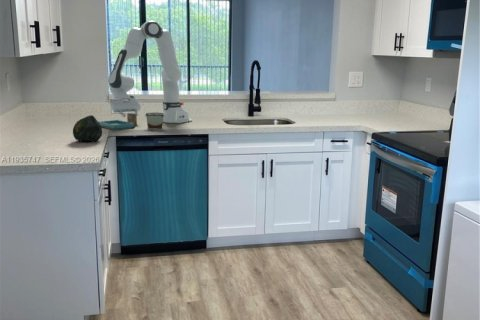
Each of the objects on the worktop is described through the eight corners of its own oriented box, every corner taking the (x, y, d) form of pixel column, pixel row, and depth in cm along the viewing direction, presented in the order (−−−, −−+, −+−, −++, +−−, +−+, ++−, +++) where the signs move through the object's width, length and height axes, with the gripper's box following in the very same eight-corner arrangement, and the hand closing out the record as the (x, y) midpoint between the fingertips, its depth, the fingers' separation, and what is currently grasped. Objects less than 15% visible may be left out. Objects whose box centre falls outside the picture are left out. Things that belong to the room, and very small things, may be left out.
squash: (66, 129, 252) (74, 111, 243) (92, 128, 263) (100, 110, 254) (75, 150, 247) (84, 131, 238) (101, 147, 257) (110, 130, 248)
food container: (166, 127, 302) (166, 112, 300) (164, 129, 296) (164, 113, 294) (148, 127, 303) (148, 112, 301) (145, 128, 298) (145, 113, 295)
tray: (117, 124, 312) (117, 119, 311) (134, 128, 298) (133, 123, 298) (98, 126, 302) (98, 121, 302) (114, 130, 289) (114, 125, 288)
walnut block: (133, 124, 312) (132, 113, 310) (136, 125, 309) (136, 113, 307) (127, 125, 309) (127, 113, 307) (131, 126, 306) (130, 114, 304)
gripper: (110, 97, 303) (118, 113, 299) (136, 96, 318) (145, 111, 313) (107, 103, 307) (115, 119, 303) (133, 102, 322) (141, 117, 317)
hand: (130, 115), depth 308 cm, fingers open, 8 cm apart
